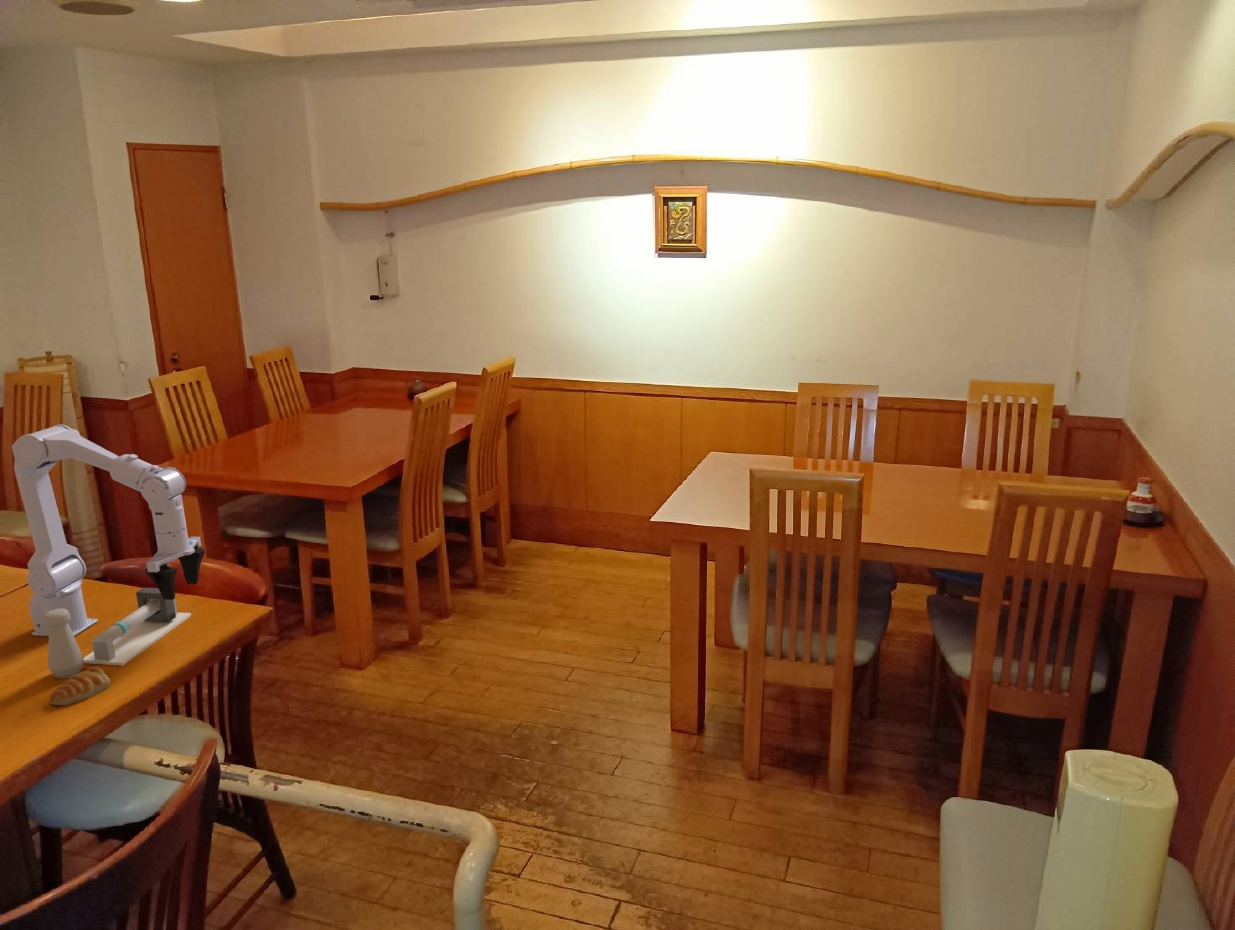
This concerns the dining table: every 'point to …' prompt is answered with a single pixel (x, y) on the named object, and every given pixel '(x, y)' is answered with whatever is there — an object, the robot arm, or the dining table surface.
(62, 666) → the salt shaker
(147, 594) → the grey square collar
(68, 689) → the pastry
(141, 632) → the pipe rail
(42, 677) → the dining table surface
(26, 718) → the dining table surface
